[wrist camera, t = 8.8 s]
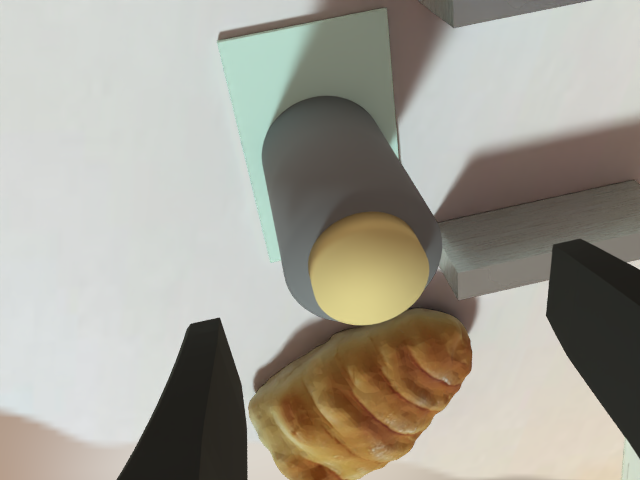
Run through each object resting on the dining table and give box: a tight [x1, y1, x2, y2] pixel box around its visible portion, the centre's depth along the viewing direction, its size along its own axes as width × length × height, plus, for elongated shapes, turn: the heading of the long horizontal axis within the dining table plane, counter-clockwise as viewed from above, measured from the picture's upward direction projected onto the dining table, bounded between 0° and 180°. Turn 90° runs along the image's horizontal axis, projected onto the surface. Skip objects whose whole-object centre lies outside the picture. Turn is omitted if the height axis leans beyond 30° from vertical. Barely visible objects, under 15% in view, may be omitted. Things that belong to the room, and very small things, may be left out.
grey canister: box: [262, 96, 442, 325], centre depth 17 cm, size 4×4×7 cm
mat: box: [217, 8, 399, 263], centre depth 20 cm, size 5×8×1 cm, turn 8°
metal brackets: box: [418, 0, 640, 300], centre depth 18 cm, size 8×12×3 cm, turn 8°
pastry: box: [248, 308, 472, 480], centre depth 25 cm, size 9×7×4 cm
